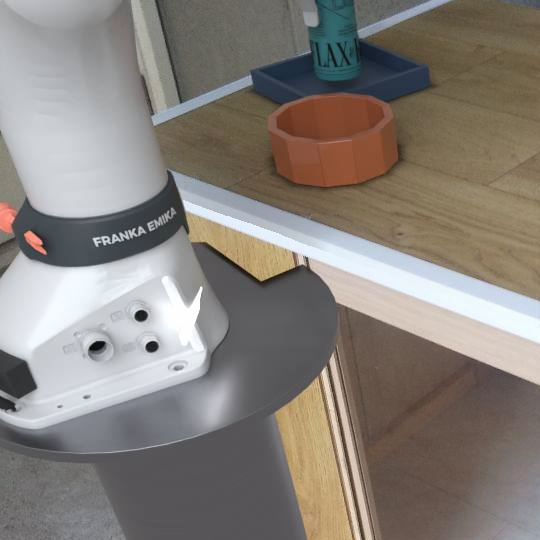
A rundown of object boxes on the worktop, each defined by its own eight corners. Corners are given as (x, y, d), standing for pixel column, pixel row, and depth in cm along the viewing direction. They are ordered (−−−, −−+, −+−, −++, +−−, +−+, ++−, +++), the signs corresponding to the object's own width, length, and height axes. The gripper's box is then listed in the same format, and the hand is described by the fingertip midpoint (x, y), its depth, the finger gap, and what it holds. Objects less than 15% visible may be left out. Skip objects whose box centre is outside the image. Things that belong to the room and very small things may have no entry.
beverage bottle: (306, 89, 129) (276, -88, 115) (333, 73, 134) (307, -100, 120) (349, 96, 127) (323, -85, 114) (375, 79, 132) (353, -96, 118)
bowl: (320, 198, 109) (312, 153, 105) (254, 159, 116) (244, 116, 112) (421, 159, 115) (416, 116, 112) (352, 125, 123) (346, 83, 119)
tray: (319, 124, 123) (315, 103, 121) (254, 90, 131) (249, 70, 129) (430, 86, 131) (428, 66, 129) (362, 57, 140) (360, 37, 138)
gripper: (326, -137, 123) (344, -15, 132) (243, -97, 109) (270, 37, 119) (372, -135, 121) (387, -11, 131) (295, -94, 108) (317, 41, 117)
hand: (331, 12), depth 125 cm, fingers open, 8 cm apart
